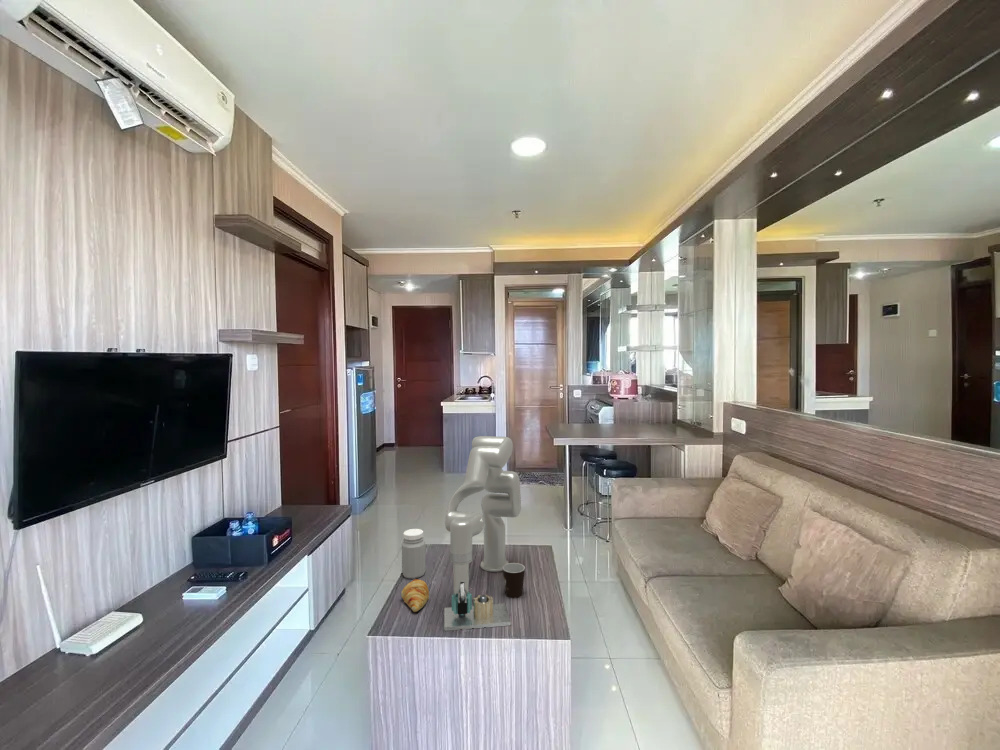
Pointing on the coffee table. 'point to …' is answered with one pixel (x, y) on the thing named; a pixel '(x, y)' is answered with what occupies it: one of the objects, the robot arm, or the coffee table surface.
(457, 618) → the board
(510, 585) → the coffee mug
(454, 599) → the gear
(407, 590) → the croissant
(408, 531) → the jar
